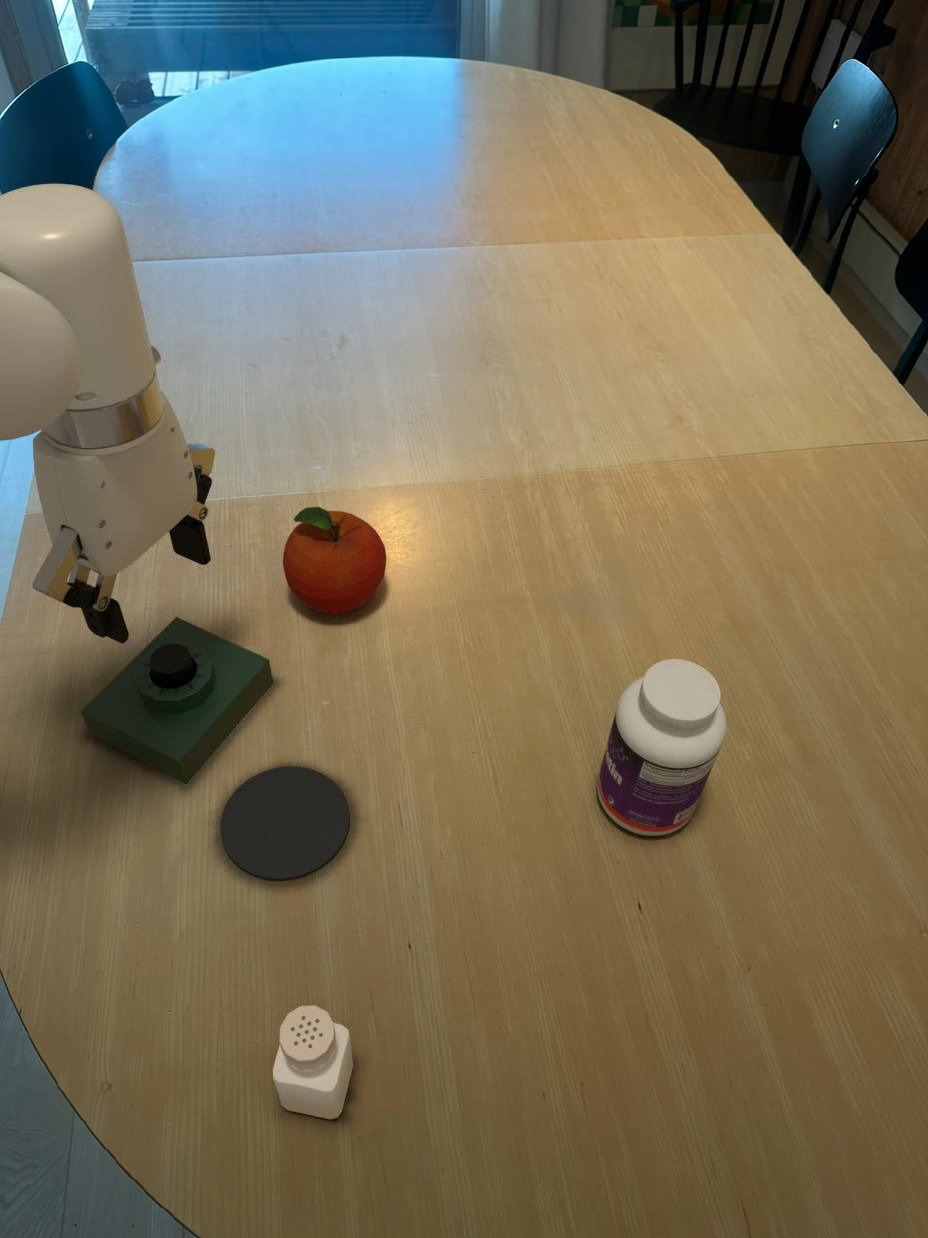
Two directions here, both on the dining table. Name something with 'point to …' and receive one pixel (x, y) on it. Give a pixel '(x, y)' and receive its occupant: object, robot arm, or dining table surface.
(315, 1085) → the salt shaker
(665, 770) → the pill bottle
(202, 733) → the green square nut
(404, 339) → the dining table surface
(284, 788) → the coaster
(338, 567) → the fruit
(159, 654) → the black push button
